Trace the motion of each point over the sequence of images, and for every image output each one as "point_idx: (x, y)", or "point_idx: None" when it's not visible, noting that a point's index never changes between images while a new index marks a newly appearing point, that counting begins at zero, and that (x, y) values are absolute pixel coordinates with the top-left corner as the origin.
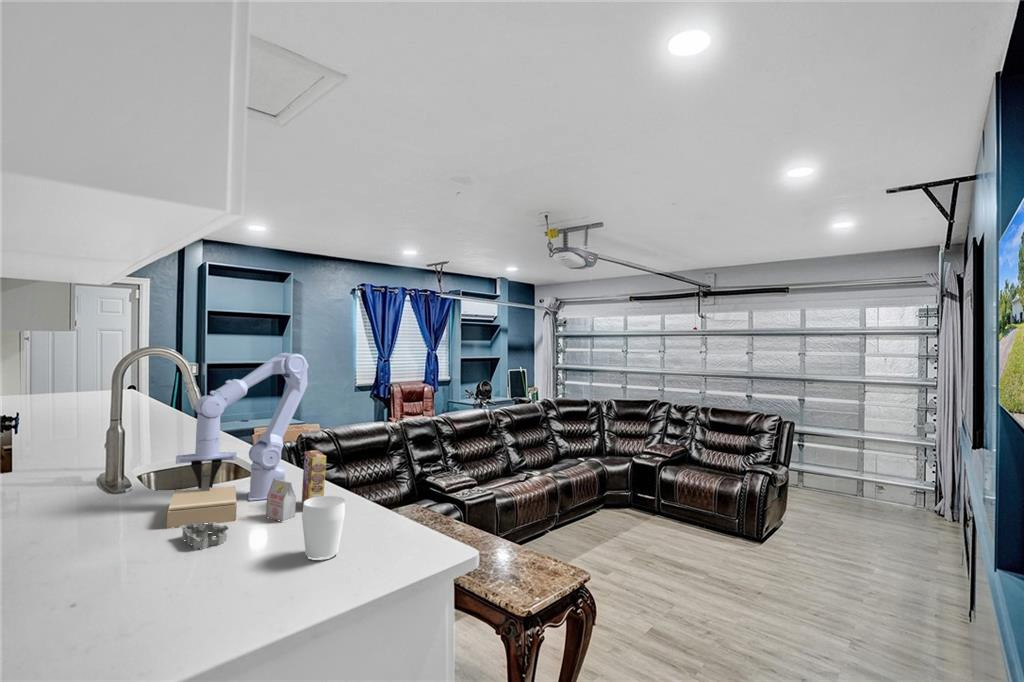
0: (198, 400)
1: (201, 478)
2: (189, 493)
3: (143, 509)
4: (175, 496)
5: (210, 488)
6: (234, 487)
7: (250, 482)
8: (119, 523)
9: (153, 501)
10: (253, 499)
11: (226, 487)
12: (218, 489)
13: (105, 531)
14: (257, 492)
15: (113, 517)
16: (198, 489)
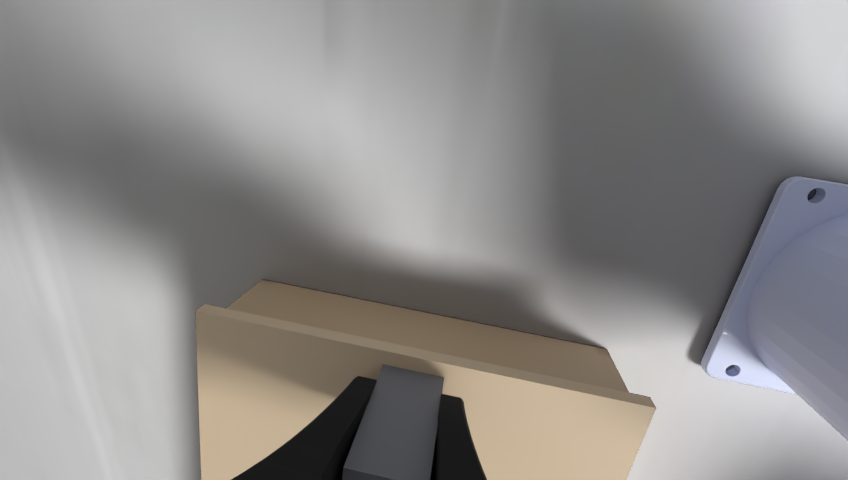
0: None
1: (351, 429)
2: (298, 420)
3: (114, 193)
4: (216, 438)
5: (452, 370)
6: (634, 441)
7: (842, 357)
8: (67, 371)
9: (133, 19)
10: (732, 381)
11: (576, 407)
12: (503, 429)
13: (48, 439)
14: (801, 397)
15: (12, 265)
16: (362, 350)
